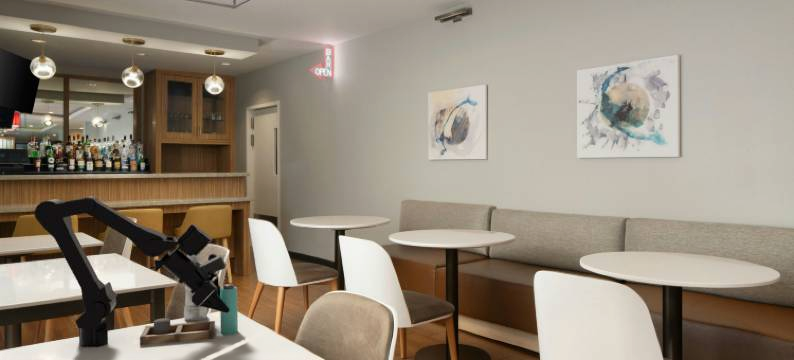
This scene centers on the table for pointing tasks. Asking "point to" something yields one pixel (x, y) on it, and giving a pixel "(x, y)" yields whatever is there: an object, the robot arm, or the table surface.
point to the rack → (179, 333)
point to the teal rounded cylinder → (231, 318)
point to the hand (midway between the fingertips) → (228, 306)
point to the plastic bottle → (190, 308)
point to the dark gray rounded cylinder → (162, 326)
